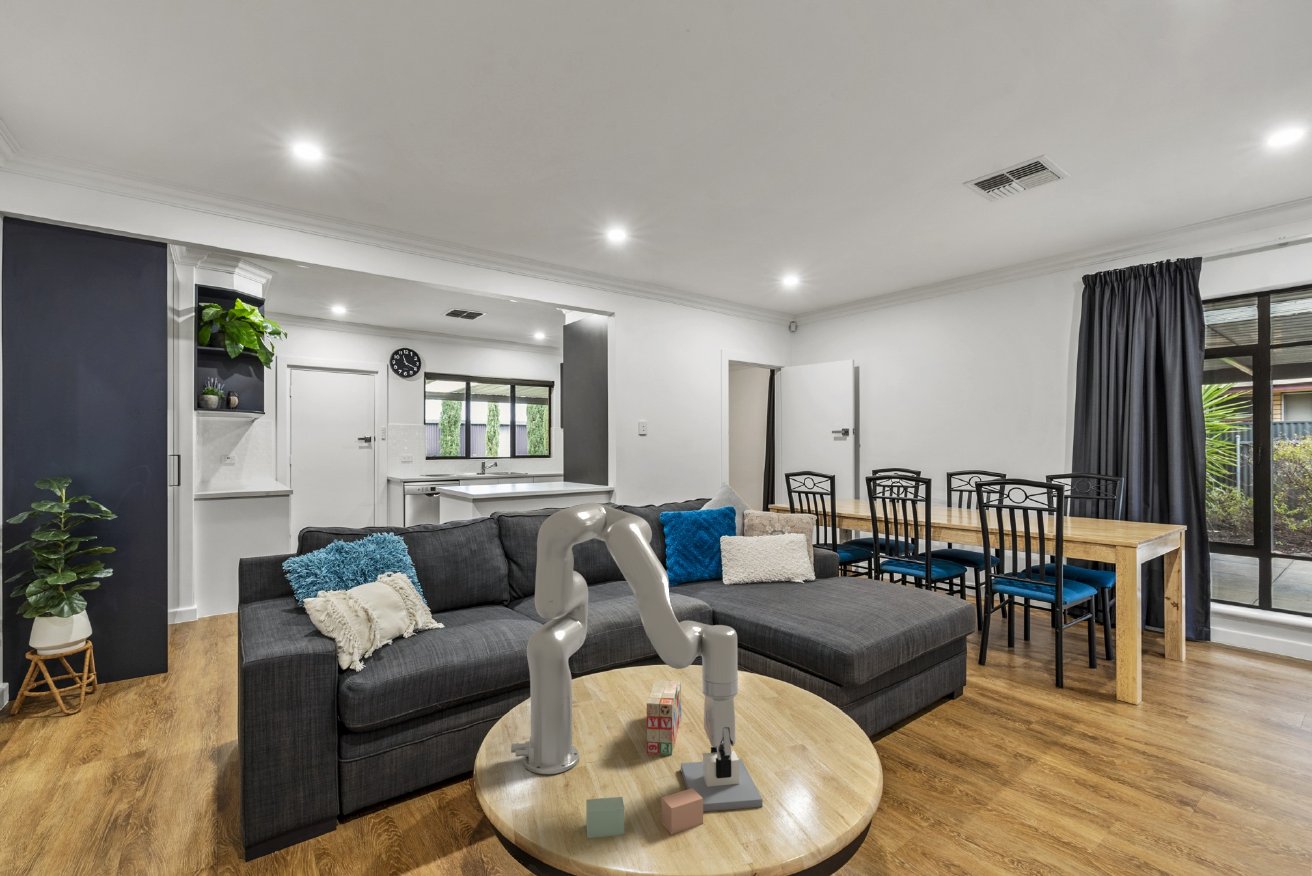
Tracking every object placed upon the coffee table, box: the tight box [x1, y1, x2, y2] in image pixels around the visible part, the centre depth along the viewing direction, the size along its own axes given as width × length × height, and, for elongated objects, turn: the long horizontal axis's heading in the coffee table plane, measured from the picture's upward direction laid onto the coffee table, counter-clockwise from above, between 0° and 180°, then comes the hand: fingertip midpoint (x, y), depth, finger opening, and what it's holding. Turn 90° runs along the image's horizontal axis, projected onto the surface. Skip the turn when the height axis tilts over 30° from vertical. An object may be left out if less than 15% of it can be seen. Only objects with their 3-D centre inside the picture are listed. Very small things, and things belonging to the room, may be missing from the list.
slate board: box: [680, 758, 763, 813], centre depth 133 cm, size 14×16×2 cm
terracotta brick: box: [661, 788, 704, 835], centre depth 120 cm, size 7×4×5 cm, turn 118°
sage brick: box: [585, 796, 625, 839], centre depth 118 cm, size 7×4×5 cm, turn 98°
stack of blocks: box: [646, 680, 682, 756], centre depth 157 cm, size 21×6×12 cm, turn 172°
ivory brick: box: [702, 750, 740, 787], centre depth 133 cm, size 7×4×5 cm, turn 98°
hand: (720, 770), depth 133 cm, fingers closed on ivory brick, 4 cm apart
